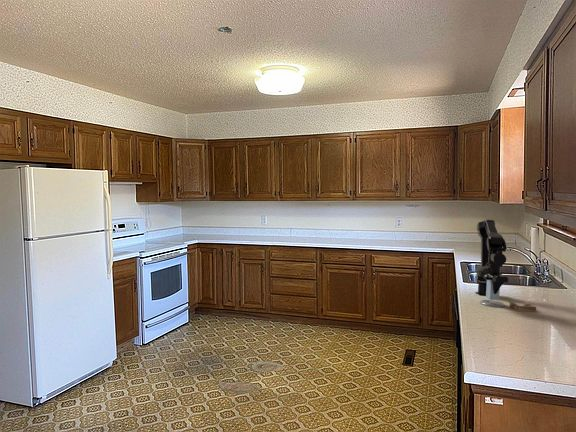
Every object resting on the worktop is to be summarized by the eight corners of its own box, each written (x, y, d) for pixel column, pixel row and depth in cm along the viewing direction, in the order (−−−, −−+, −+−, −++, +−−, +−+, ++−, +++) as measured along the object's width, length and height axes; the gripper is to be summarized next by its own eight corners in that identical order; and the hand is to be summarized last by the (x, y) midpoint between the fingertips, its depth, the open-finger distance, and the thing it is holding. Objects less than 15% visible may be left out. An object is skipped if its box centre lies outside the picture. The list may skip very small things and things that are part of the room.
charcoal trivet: (476, 300, 228) (476, 299, 228) (497, 301, 229) (498, 300, 228) (486, 307, 218) (486, 305, 217) (508, 307, 218) (508, 306, 218)
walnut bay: (509, 306, 220) (509, 302, 220) (526, 306, 220) (527, 302, 220) (518, 310, 212) (518, 306, 212) (536, 311, 212) (536, 307, 212)
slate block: (485, 297, 225) (486, 279, 224) (494, 297, 225) (495, 279, 224) (489, 299, 221) (491, 281, 220) (499, 299, 221) (500, 281, 220)
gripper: (470, 258, 231) (468, 287, 232) (486, 264, 212) (484, 297, 213) (492, 258, 231) (490, 288, 232) (510, 265, 212) (508, 297, 213)
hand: (492, 292), depth 223 cm, fingers closed on slate block, 4 cm apart
